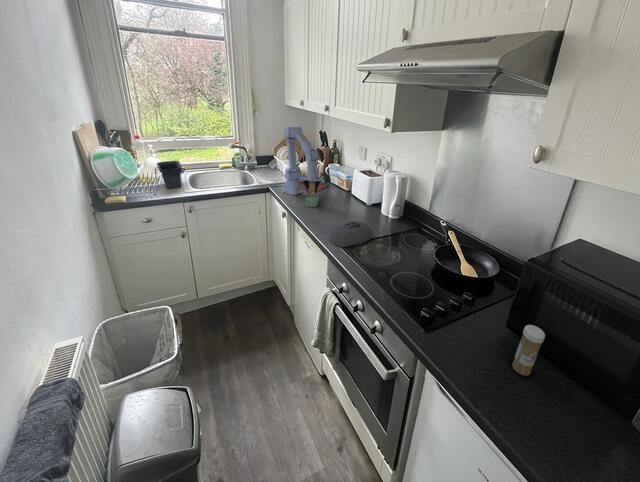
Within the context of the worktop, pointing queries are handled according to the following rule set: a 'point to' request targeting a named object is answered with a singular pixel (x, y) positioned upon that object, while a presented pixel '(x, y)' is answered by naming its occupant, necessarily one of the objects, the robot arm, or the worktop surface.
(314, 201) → the sage block
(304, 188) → the mat
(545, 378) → the worktop surface
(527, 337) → the sprinkles bottle
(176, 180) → the storage bin
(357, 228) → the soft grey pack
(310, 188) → the maple cube
